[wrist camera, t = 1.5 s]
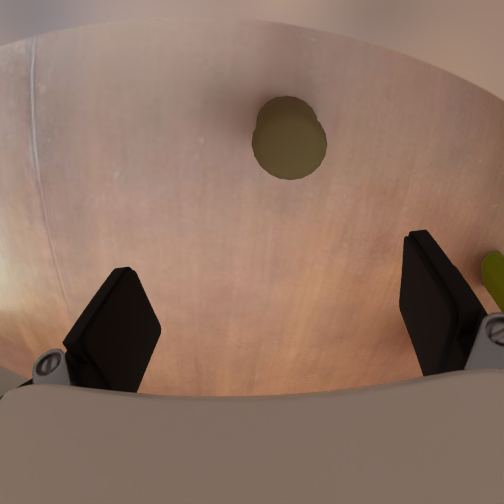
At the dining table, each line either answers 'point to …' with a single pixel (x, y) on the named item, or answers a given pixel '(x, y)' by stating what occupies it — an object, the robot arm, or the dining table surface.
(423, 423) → the robot arm
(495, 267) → the vape
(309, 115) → the olive pawn
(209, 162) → the dining table surface
